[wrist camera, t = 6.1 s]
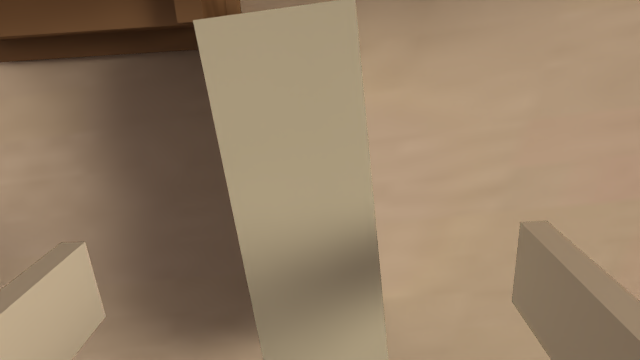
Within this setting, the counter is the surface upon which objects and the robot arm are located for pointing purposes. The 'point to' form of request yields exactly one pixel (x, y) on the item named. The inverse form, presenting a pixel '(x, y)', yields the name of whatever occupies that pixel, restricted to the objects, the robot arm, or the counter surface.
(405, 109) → the counter surface
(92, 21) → the brown wooden frame
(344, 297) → the clay bar
